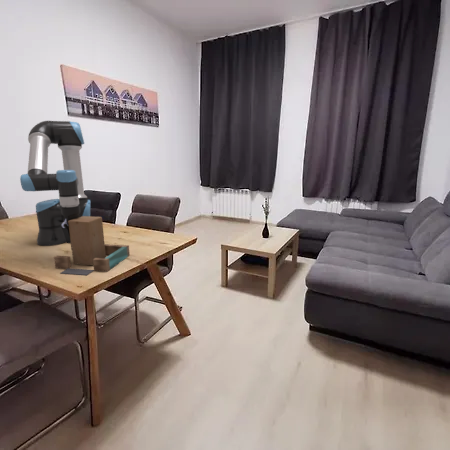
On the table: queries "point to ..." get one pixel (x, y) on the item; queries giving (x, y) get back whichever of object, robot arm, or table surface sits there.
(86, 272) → the mat
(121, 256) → the brown u-shaped piece
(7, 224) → the table surface
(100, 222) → the wooden block
